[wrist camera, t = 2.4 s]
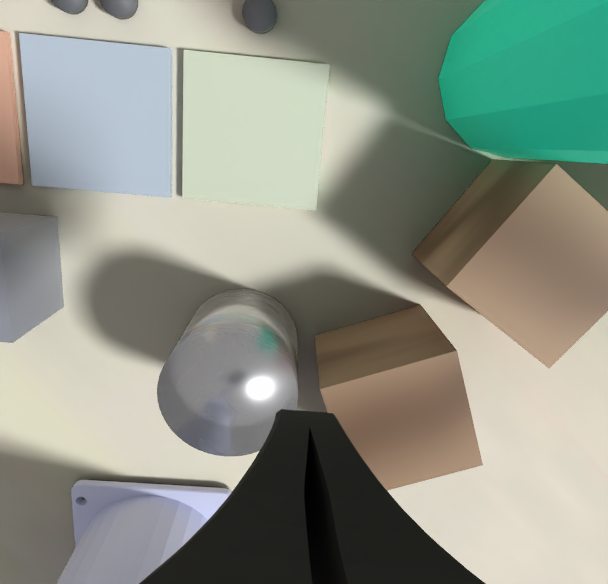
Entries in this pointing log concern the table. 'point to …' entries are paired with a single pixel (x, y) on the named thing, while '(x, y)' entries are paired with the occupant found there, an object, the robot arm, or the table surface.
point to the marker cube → (28, 273)
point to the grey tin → (231, 373)
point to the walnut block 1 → (399, 396)
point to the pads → (165, 117)
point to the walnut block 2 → (525, 254)
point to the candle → (531, 80)
